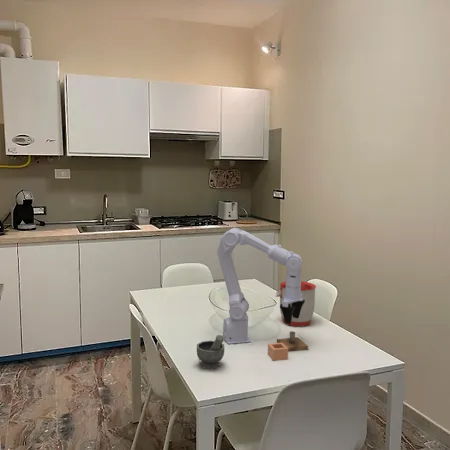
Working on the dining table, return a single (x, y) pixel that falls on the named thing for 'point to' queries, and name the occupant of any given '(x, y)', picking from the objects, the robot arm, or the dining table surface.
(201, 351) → the mortar and pestle
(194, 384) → the dining table surface
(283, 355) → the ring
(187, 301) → the dining table surface
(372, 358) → the dining table surface
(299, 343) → the post stand
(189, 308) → the dining table surface
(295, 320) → the citrus juicer
